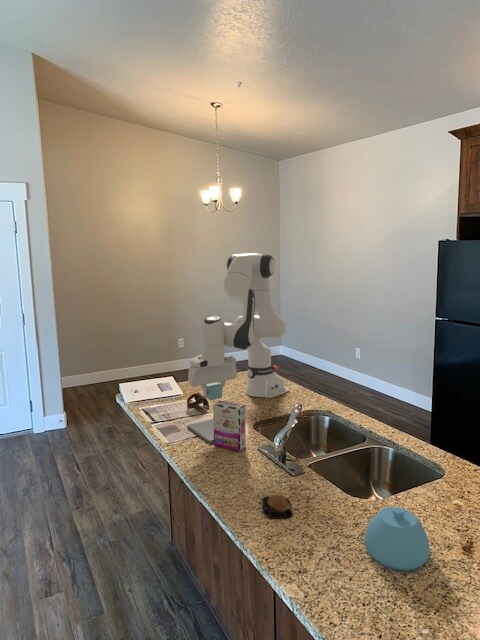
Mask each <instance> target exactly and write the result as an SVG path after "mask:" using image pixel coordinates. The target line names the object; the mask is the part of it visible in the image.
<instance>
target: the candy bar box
mask: <svg viewBox="0 0 480 640" xmlns="http://www.w3.org/2000/svg"><path fill="white" fill-rule="evenodd" d="M212 406H213V409H212V410H213V419H214V443H213V446H214V447H217V448H221V449H225V450H231V451H235V452H237V453H239V452H240V453H241V451H243V450H244V449H246V447H247V446H246V444H247V443H246V442H247V441H246V440H247V439H246V432H247V431H246V427H247V426H246V424H247V421H246V415H247V414H246V410H247V409H246V408H247V407H246V404H243V403H236V402H232V401H224V400H218V401H217V402H214V403H213V405H212Z"/></svg>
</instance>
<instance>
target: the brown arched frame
mask: <svg viewBox="0 0 480 640" xmlns="http://www.w3.org/2000/svg"><path fill="white" fill-rule="evenodd" d="M193 398H194V400H195V401H193V402H190V401H191V400H192V399H193ZM186 404H187V405H186V409H187V410H190V409H192V410H193V409H196V408H200V405H201V404H202V405H203V407H207V410H210V404H209V401H208V398H206V397H205V395H204V394H203V395H202V394H201V392H198V391H197V392H194V393H192V394H190V395H189V396H188V397H187V399H186Z"/></svg>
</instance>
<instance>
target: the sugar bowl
mask: <svg viewBox="0 0 480 640" xmlns="http://www.w3.org/2000/svg"><path fill="white" fill-rule="evenodd" d="M363 542H364V546H365V549H366V551H367V552H368V553H369V555H370V556H371V557H372V558H373V559H374V560H375V561H377V562H378V563H379V564H380V565H382V566H384V567H386V568H388V569H392V570H395V571H400V572H401V571H403V572H405V571H407V572H408V571H413V570H416V569H418V568H421V567H422V566H423V565H424V564H426V563H427V561H428V560H429V558H430V554H431V553H430V552H431V551H430V550H431V549H430V547H431V546H430V542H429V537H428V535H427V533H426V531H425V529H424V527H423V524H422V523H421V521H420V520H419V518H418V517H417V515H415V514H414V513H413V512H411V511H410V510H408V509H405V508H402V507H400V506H387V507H384V508H382V509H380V510H378V512H377V513H376V514H375V515H374V516H373V517H372V519H371V520H370V521H369V523H368V525H367V527H366V530H365V532H364V540H363Z"/></svg>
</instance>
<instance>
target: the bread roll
mask: <svg viewBox="0 0 480 640" xmlns="http://www.w3.org/2000/svg"><path fill="white" fill-rule="evenodd" d="M260 501H261V507H262V511H263V513H264V516H265V517H266V518H267V519H269V520H288V519H291V518H293V510H292V507H291V504H292V503H291V501H290V499H288V498H287V497H285V496H283V495H279V494H271V495H270V496H269V495H268V496H265V497H263V498H261V500H260Z"/></svg>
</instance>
